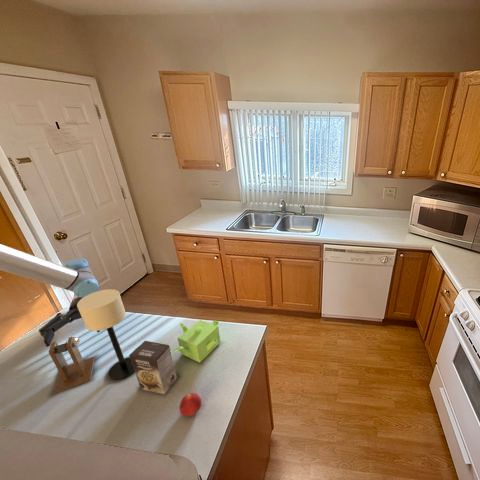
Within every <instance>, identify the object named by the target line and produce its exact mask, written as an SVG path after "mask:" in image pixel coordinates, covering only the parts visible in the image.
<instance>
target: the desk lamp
mask: <svg viewBox="0 0 480 480" xmlns="http://www.w3.org/2000/svg"><path fill="white" fill-rule="evenodd" d="M77 307H78V309H79V312H80V314H81V317H82V318H81V319H82V321H83V323H84V327H85V328H86V330H88V331H92V332H97V331H99V330H100V331H104V330H106V331H107V334H108V336H109V340H110V341H111V342H110V343H111V345H112V347H113V350H114V353H115V355H116V358H117V360H118V361H116V362H115V363H114V364H113V365H112V366H111V367H110V368H109V370H108V372H107V376H108V378H109V379H110V380H112V381H120V380H124V379H126V378H129V377H130V376H132V375H133V374H134V373H135V371H134V368H133V365H132V362H131V359H130V357H129V356H128V357H125V356H124V353H123V351H122V348H121V345H120V342H119V340H118V337H117V335H116V331H115V329H114V327H115V326H116V325H118V324H120V323H121V322H122V321H123V320H124V319H125V318H126V315H127V311H126V310H125V305H124V303H123V300H122V296H121V294H120V291H118V290H117V289H113V288H112V289H111V288H110V289H101V290H98V291H97V292H94V293H91V294H89V295H87V296H85V297H83V298H82V299H81V300H80V301H79V302H78V303H77Z"/></svg>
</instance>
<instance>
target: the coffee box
mask: <svg viewBox="0 0 480 480" xmlns="http://www.w3.org/2000/svg"><path fill="white" fill-rule="evenodd" d="M128 357H130V359H131V362H132V365H133V368H134V371H135V372H134V373H135V377H136V379H137V382H138V385H139V388H140V389H141V390H144V391H149V392H153V393H158V394H163V395H165V394H166V393H167V392H168V390H169V389H170V388H171V387H172V386H173V384H174V383H175V382H176V380H177V378H178V376H177V371H176V368H175V363H174V359H173V355H172V351H171V346H170V345H169V344H166V343H161V342H156V341H155V342H154V341H149V340H144V341H143V342H142V343H140V344H139V345H138V346H137V347H136V348H134V349H133V351H132V352H131V353H130V354H129V355H128Z"/></svg>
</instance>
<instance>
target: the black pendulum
mask: <svg viewBox="0 0 480 480" xmlns="http://www.w3.org/2000/svg"><path fill="white" fill-rule="evenodd" d="M72 337H73V338H74V341H75V343H76V345H77V346H79V344H80V341H81V340H80V338H79V337H76V336H72ZM67 342H68V339H67V340H65V342H64V343H61V344H58V346H56V349H57V354H59V353H62V354H63V353H66V352H68V350H67V348H66V345H67Z"/></svg>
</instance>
